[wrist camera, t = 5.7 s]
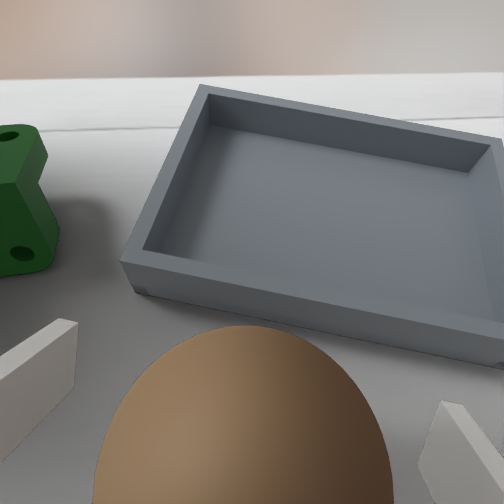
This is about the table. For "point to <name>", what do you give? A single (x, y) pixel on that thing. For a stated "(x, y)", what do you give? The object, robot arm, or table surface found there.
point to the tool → (243, 428)
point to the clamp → (24, 203)
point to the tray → (330, 224)
